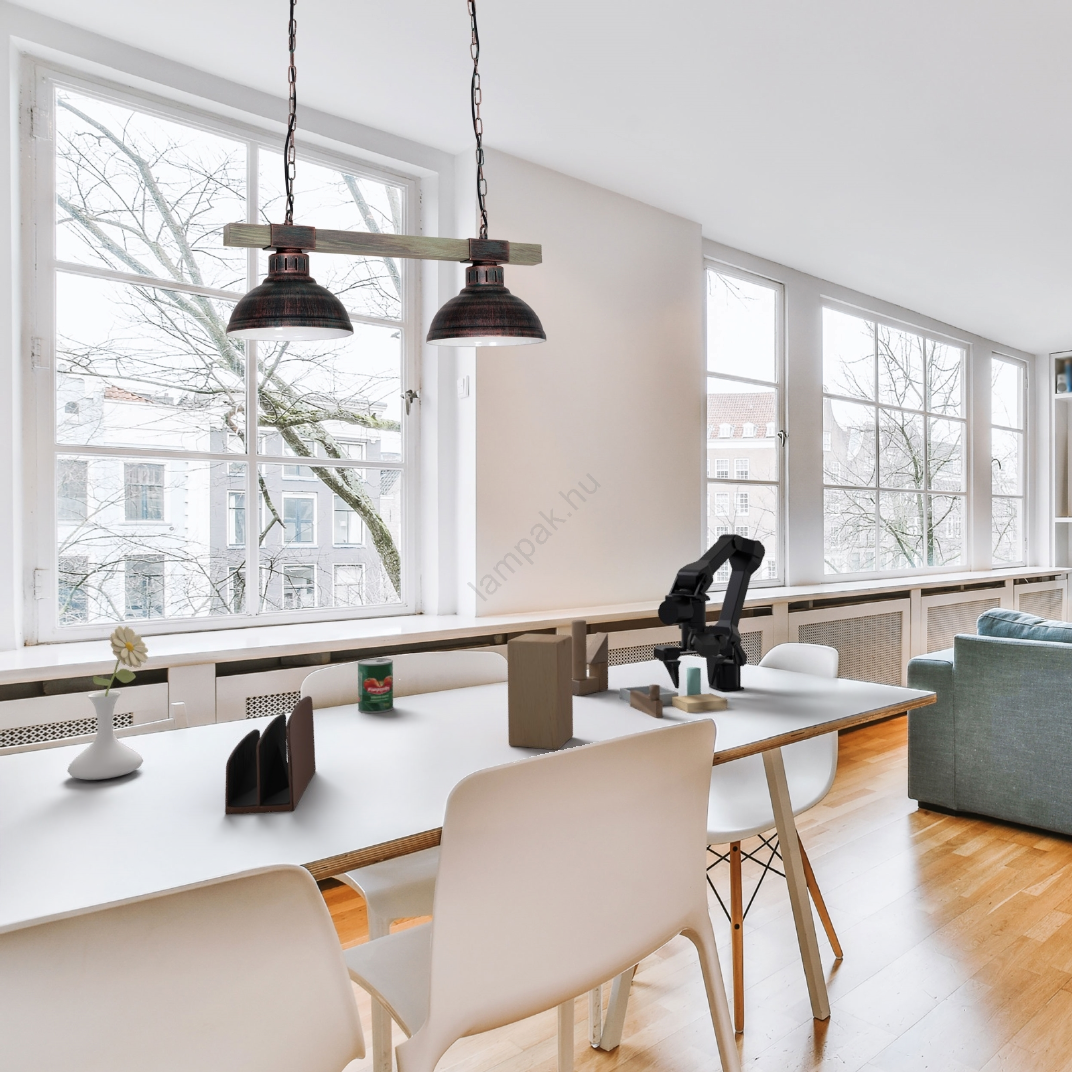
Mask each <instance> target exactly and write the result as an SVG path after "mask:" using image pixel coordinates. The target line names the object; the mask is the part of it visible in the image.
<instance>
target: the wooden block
mask: <svg viewBox="0 0 1072 1072" xmlns="http://www.w3.org/2000/svg"><path fill="white" fill-rule="evenodd" d="M506 643H507V648H506V649H507V709H508V710H507V717H508V718H507V724H508V727H507V728H508V734H507V735H508V746H510V747H518V748H519V747H522V748H533V749H543V750H544V749H546V750H555V751H557V750H559V749H560V748H561V747H562V746H564V745H565V744H566V743H567V742H569V740H570V739H572V738H573V737H574V724H573V723H574V715H573V714H574V704H573V702H574V701H573V696H574V695H573V687H572V635H570V634H550V633H547V634H545V633H524V634H522V635H518V636H516V637H514V638H512V639H509V640H507V642H506Z"/></svg>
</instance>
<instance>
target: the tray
mask: <svg viewBox="0 0 1072 1072" xmlns="http://www.w3.org/2000/svg"><path fill="white" fill-rule="evenodd" d="M634 690H637V691H639V692H642V693H644V694H647V695H649V685H643V686H642V685H641V686H631V687H630V686H629V687H620V688H619V699H620V700H622V701H624V702H626V703H628V704H630V691H634ZM678 696H679V692H677V691H675V690H672V689H669V688H668V687H667V688H666V687H664V686H662V685H660V700H661V701H663V706H669V705H672V697H678Z"/></svg>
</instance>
